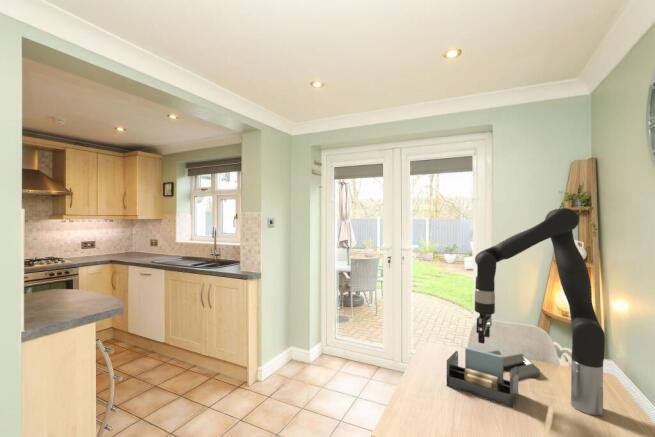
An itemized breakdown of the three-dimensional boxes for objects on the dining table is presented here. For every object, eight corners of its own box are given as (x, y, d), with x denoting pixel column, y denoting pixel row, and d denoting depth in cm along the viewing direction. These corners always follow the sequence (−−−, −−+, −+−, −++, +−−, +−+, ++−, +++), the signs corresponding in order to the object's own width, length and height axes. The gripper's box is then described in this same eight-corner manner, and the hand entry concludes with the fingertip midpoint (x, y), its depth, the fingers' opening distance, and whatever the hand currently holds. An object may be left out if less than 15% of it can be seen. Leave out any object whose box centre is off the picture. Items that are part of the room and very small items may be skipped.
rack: (518, 397, 127) (518, 367, 127) (512, 411, 118) (513, 379, 118) (455, 377, 142) (455, 350, 142) (446, 389, 133) (446, 360, 133)
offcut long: (498, 394, 126) (498, 377, 126) (496, 397, 124) (497, 379, 124) (465, 384, 134) (466, 368, 134) (464, 386, 132) (464, 369, 132)
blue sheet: (503, 390, 129) (503, 356, 129) (502, 393, 127) (502, 357, 127) (466, 379, 138) (466, 347, 138) (465, 381, 136) (465, 348, 136)
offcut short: (492, 396, 125) (492, 380, 125) (491, 398, 124) (491, 383, 124) (468, 388, 131) (468, 373, 131) (466, 390, 129) (466, 375, 129)
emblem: (479, 341, 171) (542, 355, 154) (479, 351, 171) (542, 366, 154) (465, 360, 149) (537, 378, 132) (465, 371, 149) (537, 391, 132)
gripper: (490, 306, 124) (489, 347, 125) (498, 298, 135) (497, 337, 136) (470, 302, 129) (469, 342, 129) (479, 295, 140) (478, 332, 140)
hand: (484, 339), depth 133 cm, fingers open, 8 cm apart
